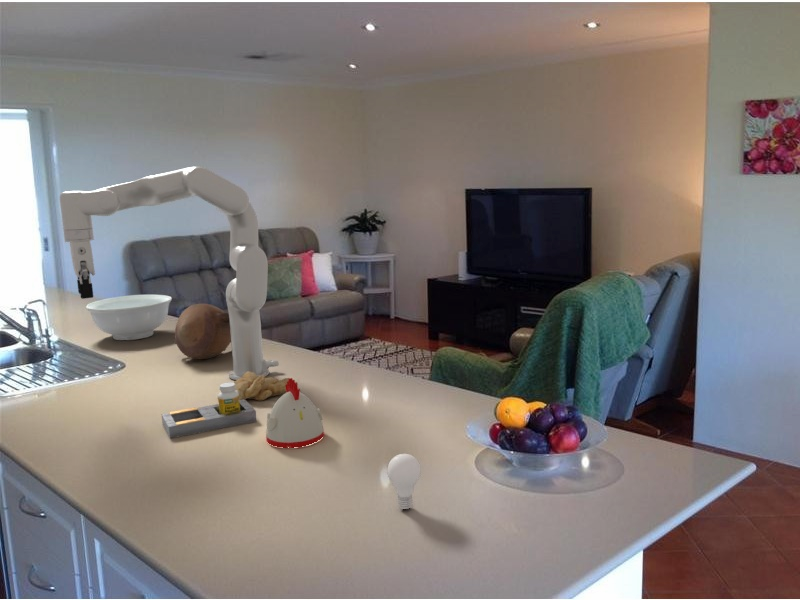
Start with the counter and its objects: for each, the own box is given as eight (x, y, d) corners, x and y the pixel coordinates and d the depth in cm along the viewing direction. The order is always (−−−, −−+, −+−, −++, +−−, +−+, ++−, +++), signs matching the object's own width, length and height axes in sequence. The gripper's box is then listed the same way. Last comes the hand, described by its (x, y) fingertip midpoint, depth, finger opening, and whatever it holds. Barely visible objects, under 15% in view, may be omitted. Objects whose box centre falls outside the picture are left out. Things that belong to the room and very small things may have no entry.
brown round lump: (195, 369, 242) (258, 362, 268) (206, 312, 240) (268, 311, 265) (155, 350, 253) (220, 345, 278) (166, 296, 250) (230, 296, 275)
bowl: (103, 329, 309) (99, 295, 306) (181, 325, 312) (178, 291, 310) (79, 348, 277) (74, 310, 275) (166, 343, 281) (162, 306, 278)
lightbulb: (387, 502, 142) (385, 449, 140) (420, 500, 143) (418, 447, 140) (390, 518, 136) (387, 462, 134) (423, 515, 136) (422, 460, 134)
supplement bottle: (236, 414, 196) (233, 380, 194) (243, 420, 192) (241, 385, 190) (217, 419, 193) (214, 384, 192) (224, 424, 189) (221, 389, 187)
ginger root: (214, 394, 210) (218, 366, 210) (260, 393, 222) (264, 367, 222) (247, 407, 199) (251, 378, 199) (293, 406, 211) (298, 378, 211)
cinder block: (245, 409, 200) (244, 398, 199) (256, 421, 190) (255, 409, 190) (162, 425, 190) (161, 413, 190) (169, 438, 181) (168, 426, 180)
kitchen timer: (277, 453, 169) (272, 391, 166) (259, 435, 181) (255, 377, 178) (332, 441, 175) (329, 381, 172) (312, 424, 187) (308, 368, 184)
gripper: (95, 236, 198) (103, 298, 201) (90, 232, 213) (97, 289, 217) (65, 238, 195) (73, 301, 198) (62, 234, 210) (69, 292, 213)
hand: (86, 295), depth 207 cm, fingers open, 9 cm apart
